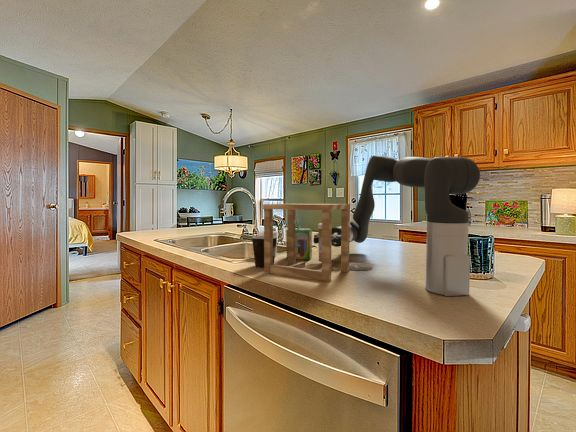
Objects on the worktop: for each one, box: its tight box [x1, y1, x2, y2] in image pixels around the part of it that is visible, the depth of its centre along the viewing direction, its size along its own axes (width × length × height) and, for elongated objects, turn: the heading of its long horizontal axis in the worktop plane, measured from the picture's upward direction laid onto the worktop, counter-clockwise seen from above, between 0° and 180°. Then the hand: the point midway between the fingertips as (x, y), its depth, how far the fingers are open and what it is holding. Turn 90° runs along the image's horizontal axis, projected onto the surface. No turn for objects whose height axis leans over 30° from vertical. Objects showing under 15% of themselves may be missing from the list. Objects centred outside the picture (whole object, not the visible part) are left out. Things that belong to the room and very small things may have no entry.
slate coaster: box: [349, 262, 373, 272], centre depth 108 cm, size 10×10×1 cm
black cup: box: [257, 230, 279, 257], centre depth 129 cm, size 8×8×10 cm
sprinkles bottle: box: [317, 222, 322, 263], centre depth 112 cm, size 5×5×13 cm
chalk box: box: [285, 220, 313, 261], centre depth 125 cm, size 9×9×15 cm
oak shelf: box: [262, 203, 351, 283], centre depth 100 cm, size 17×22×22 cm
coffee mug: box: [251, 235, 278, 269], centre depth 109 cm, size 12×9×10 cm
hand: (321, 241), depth 109 cm, fingers closed on sprinkles bottle, 4 cm apart
